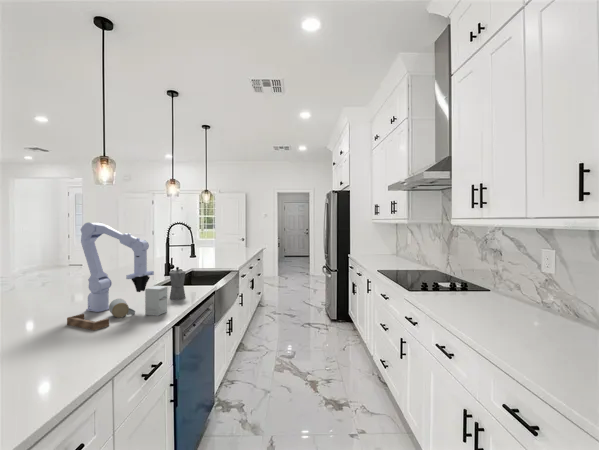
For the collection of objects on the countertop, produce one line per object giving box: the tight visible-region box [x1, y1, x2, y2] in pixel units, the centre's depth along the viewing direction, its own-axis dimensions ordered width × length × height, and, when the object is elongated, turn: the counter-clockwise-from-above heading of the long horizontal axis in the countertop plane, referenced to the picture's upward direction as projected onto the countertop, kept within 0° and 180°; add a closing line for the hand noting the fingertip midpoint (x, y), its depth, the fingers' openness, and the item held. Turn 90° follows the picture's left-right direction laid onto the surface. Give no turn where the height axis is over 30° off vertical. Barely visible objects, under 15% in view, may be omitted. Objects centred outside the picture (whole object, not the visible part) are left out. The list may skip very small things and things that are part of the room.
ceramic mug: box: [108, 298, 136, 319], centre depth 155 cm, size 11×8×8 cm
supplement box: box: [144, 285, 168, 316], centre depth 159 cm, size 7×7×13 cm
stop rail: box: [66, 313, 110, 331], centre depth 141 cm, size 18×6×3 cm, turn 66°
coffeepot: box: [169, 266, 186, 301], centre depth 192 cm, size 15×9×18 cm, turn 44°
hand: (140, 291), depth 165 cm, fingers closed
